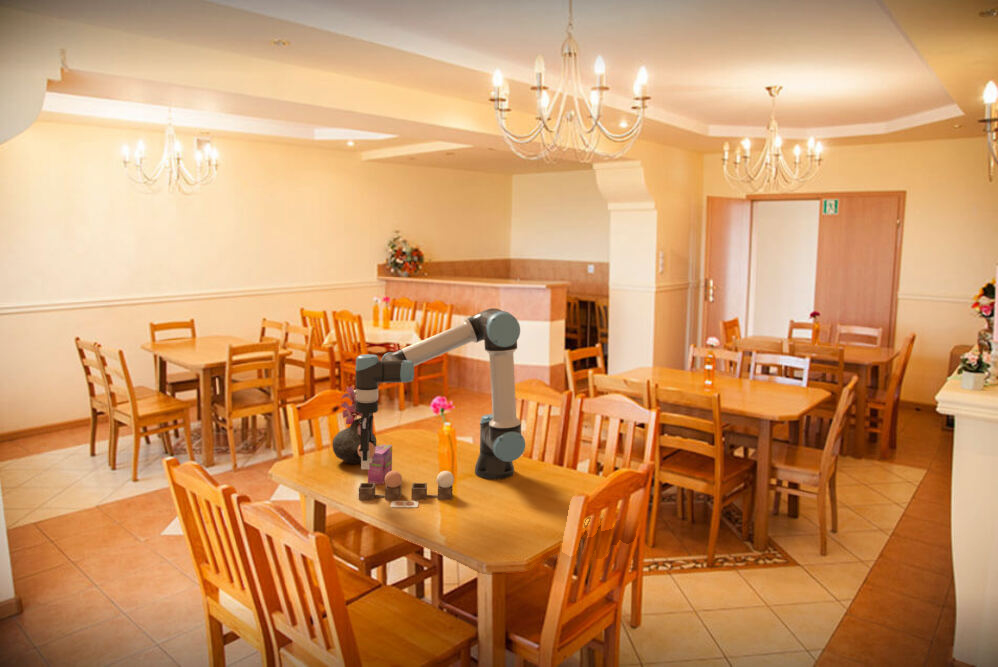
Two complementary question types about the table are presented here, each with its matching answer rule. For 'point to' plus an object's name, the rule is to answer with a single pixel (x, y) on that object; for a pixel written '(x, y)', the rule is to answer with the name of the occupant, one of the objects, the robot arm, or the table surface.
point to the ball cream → (445, 479)
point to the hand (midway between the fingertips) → (366, 465)
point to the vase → (349, 433)
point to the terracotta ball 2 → (393, 479)
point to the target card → (404, 504)
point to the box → (380, 464)
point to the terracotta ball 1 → (371, 448)
